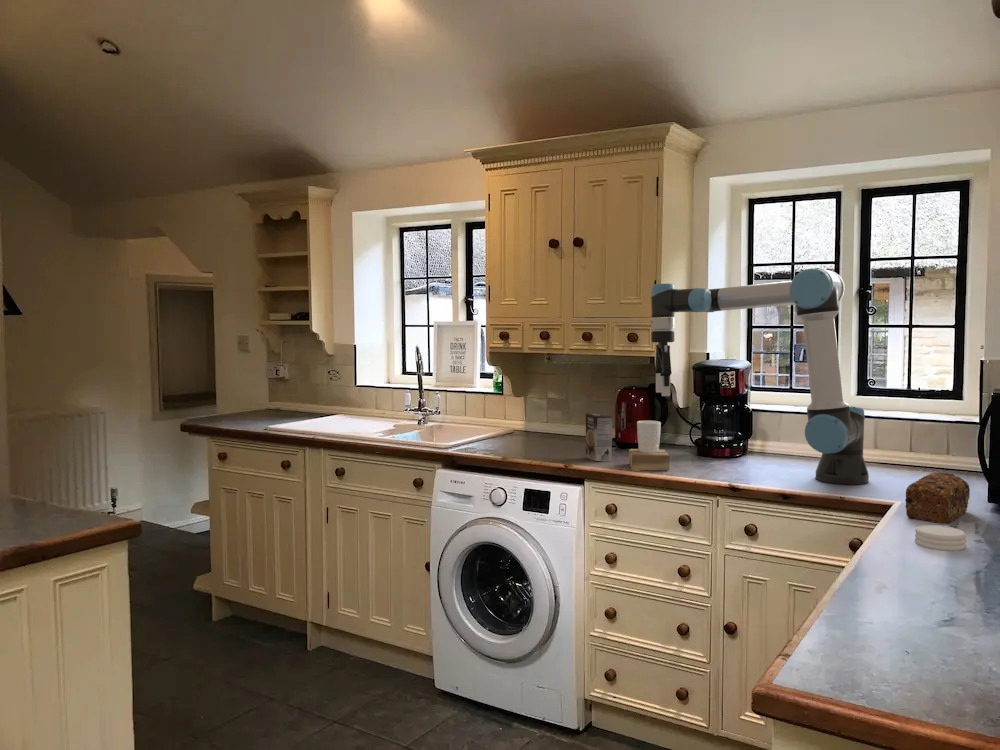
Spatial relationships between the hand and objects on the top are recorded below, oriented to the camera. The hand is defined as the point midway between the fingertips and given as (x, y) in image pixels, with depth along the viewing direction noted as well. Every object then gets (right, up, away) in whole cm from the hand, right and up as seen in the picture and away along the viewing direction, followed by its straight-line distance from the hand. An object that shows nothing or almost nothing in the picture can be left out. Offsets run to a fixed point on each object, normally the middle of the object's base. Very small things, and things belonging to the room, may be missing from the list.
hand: (662, 394), depth 270 cm
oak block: (-5, -25, +2) cm, 25 cm away
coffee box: (-20, -24, +17) cm, 35 cm away
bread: (+57, -30, -64) cm, 91 cm away
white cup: (-4, -20, +2) cm, 20 cm away
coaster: (+43, -32, -91) cm, 105 cm away
